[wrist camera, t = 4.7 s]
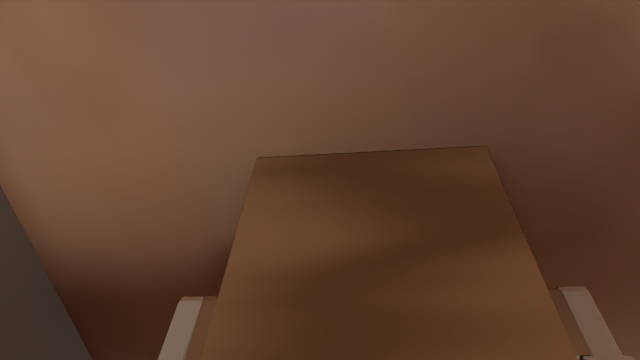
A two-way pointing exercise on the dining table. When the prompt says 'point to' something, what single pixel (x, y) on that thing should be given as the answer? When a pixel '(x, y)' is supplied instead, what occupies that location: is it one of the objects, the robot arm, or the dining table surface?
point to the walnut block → (382, 264)
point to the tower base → (30, 301)
